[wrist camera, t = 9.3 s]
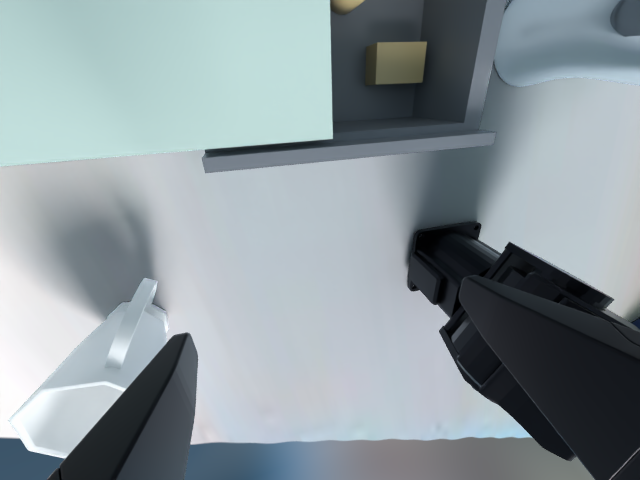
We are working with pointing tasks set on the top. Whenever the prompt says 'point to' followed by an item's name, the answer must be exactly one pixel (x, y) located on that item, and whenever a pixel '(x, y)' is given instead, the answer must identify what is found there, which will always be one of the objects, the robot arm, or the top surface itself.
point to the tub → (395, 83)
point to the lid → (160, 76)
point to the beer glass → (569, 41)
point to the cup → (93, 376)
